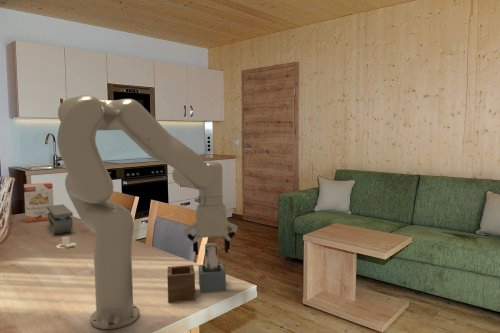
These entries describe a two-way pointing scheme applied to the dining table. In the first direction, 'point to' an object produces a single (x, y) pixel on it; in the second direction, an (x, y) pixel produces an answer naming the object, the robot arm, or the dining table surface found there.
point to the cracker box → (37, 201)
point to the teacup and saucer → (66, 243)
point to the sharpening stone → (59, 219)
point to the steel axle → (211, 257)
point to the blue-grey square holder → (212, 279)
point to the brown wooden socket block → (181, 283)
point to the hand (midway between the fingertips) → (211, 252)
